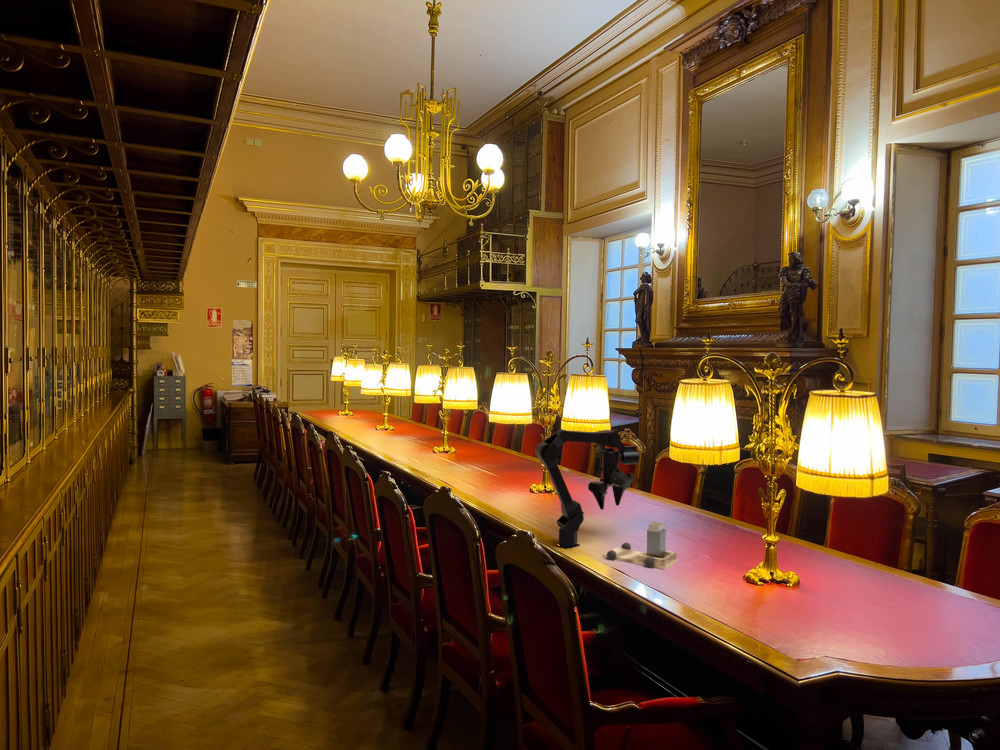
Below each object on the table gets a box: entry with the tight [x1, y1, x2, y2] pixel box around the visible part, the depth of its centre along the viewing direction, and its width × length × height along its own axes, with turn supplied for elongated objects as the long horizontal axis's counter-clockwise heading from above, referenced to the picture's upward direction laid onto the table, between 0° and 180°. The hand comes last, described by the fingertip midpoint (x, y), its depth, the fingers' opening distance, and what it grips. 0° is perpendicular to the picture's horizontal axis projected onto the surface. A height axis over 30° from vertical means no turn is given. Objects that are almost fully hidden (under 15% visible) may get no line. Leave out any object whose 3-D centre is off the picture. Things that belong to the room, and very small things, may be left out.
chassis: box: [602, 542, 677, 570], centre depth 229 cm, size 22×13×3 cm, turn 54°
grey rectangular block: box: [646, 521, 667, 559], centre depth 225 cm, size 4×5×12 cm
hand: (609, 507), depth 248 cm, fingers open, 9 cm apart
